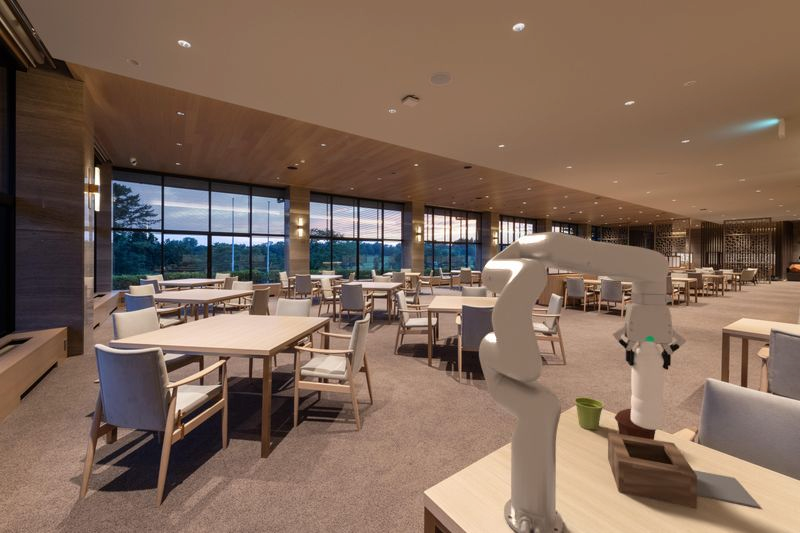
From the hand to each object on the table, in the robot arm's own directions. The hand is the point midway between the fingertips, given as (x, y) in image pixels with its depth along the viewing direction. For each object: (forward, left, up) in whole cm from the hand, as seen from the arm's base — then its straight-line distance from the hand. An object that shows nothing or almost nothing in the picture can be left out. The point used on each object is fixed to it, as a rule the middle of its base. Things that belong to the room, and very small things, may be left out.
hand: (647, 365), depth 92 cm
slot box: (0, 0, -31) cm, 31 cm away
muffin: (+23, -2, -31) cm, 39 cm away
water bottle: (0, 0, -16) cm, 16 cm away
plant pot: (+29, +11, -31) cm, 44 cm away
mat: (+4, -16, -31) cm, 35 cm away
